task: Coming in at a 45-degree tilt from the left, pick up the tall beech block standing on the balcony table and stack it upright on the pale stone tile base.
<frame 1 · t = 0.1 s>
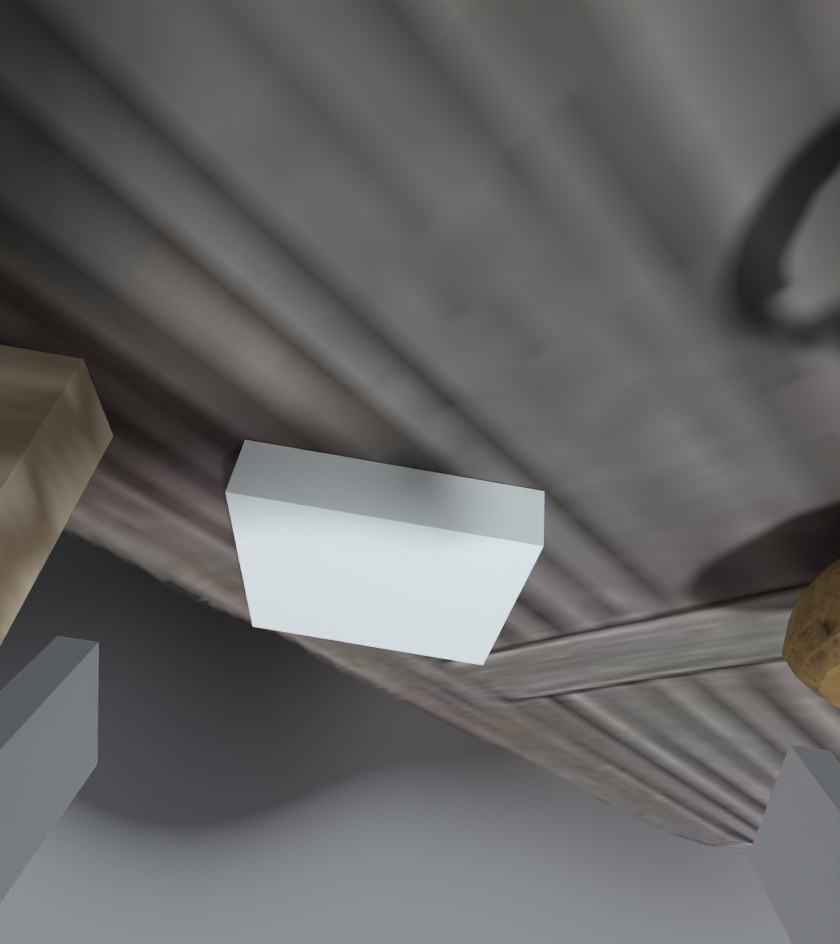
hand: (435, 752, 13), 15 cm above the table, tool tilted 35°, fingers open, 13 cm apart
beech block: (43, 390, 30), on the table
stone tile base: (384, 543, 36), on the table
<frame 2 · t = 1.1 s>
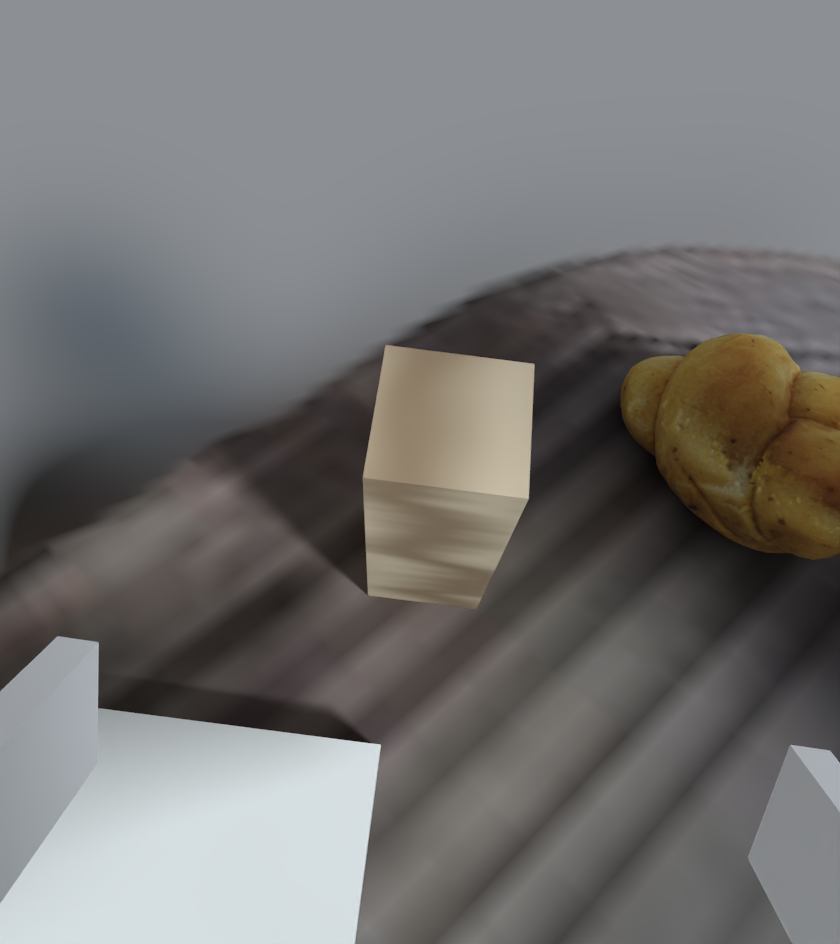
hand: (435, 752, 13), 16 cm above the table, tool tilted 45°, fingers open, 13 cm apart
beech block: (428, 551, 32), on the table
stone tile base: (163, 932, 24), on the table
bread roll: (721, 464, 35), on the table
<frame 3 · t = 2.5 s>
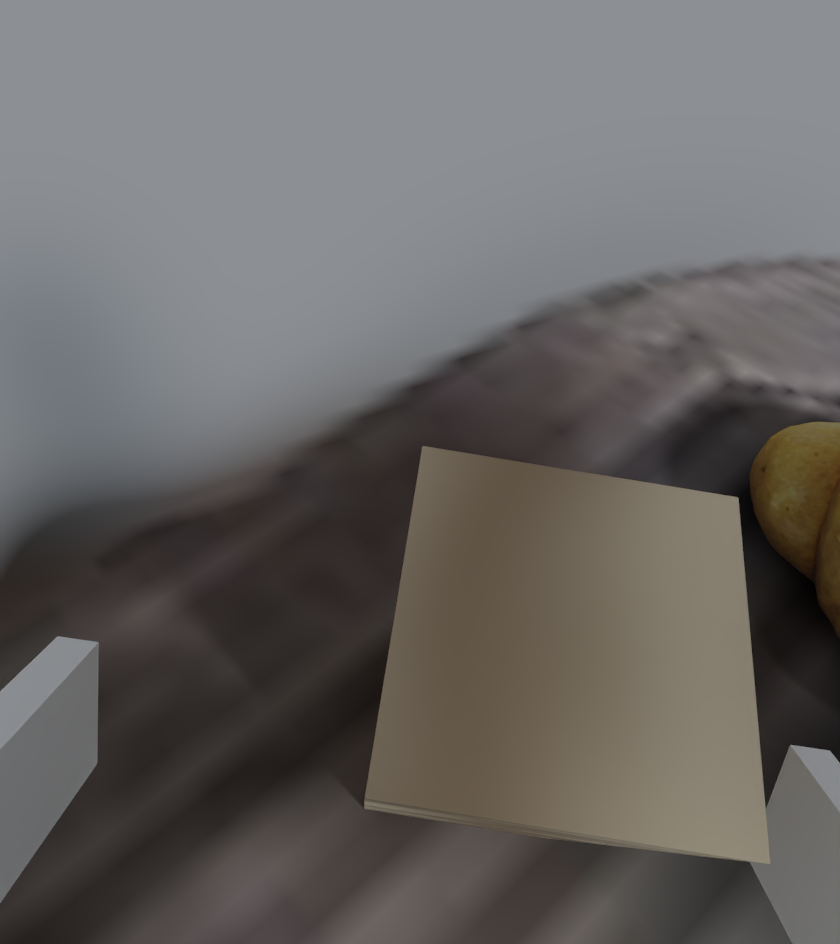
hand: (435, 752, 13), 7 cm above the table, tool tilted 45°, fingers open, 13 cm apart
beech block: (462, 729, 20), on the table
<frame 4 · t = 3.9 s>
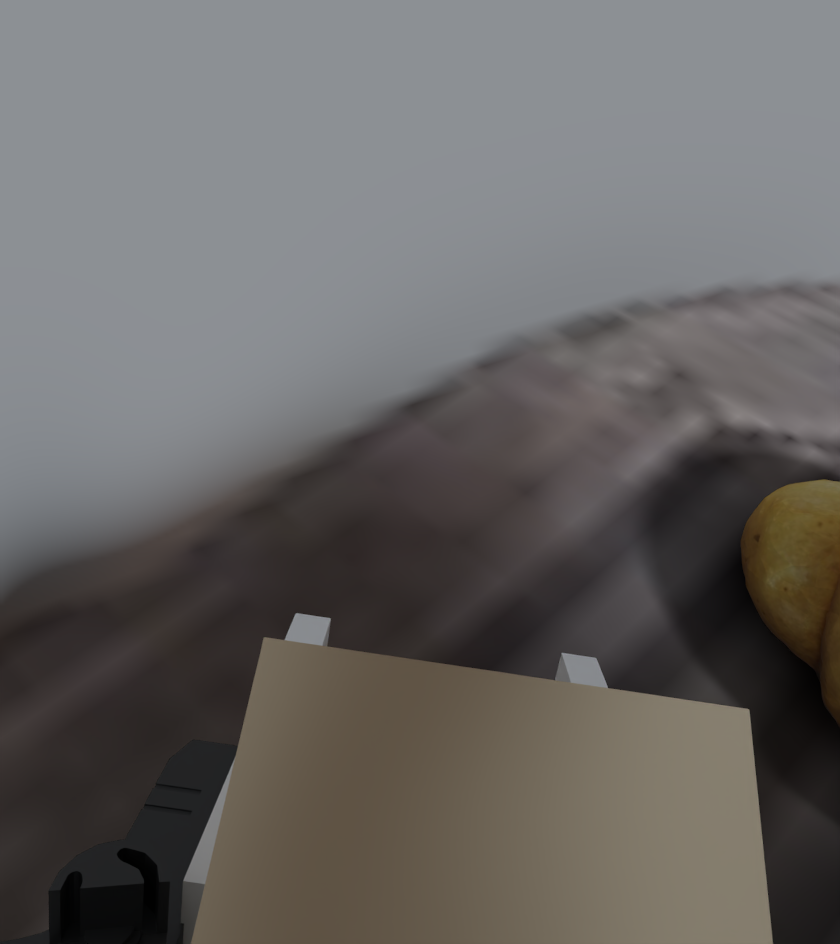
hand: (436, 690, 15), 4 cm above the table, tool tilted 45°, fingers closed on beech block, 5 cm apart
beech block: (402, 875, 16), on the table, touching gripper
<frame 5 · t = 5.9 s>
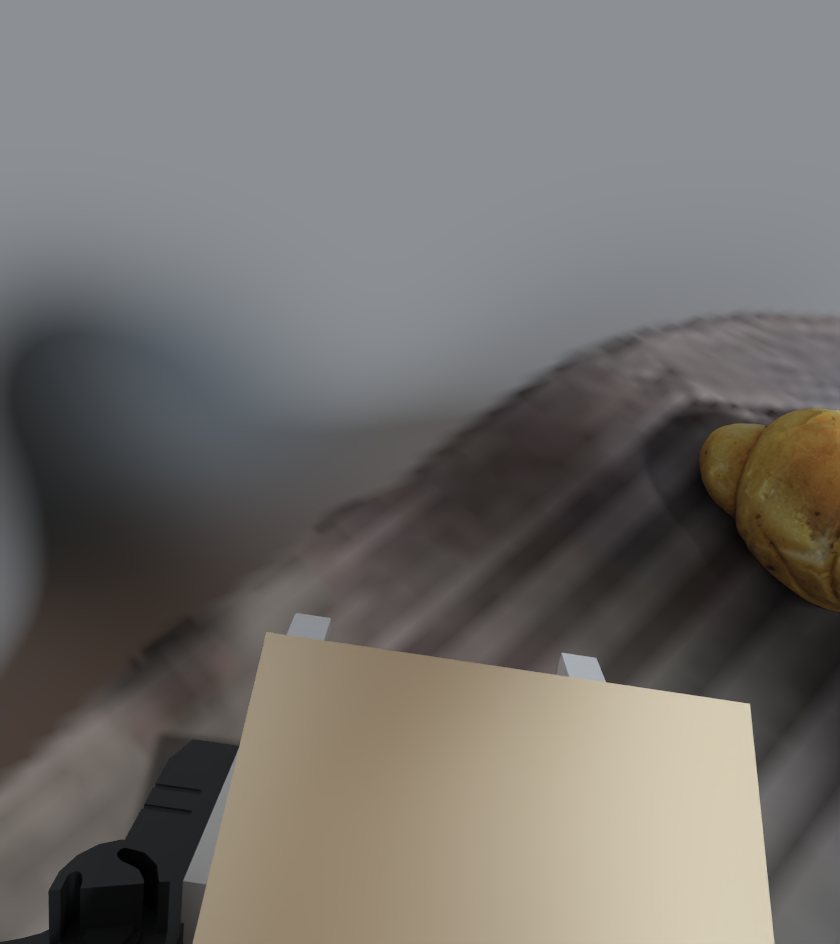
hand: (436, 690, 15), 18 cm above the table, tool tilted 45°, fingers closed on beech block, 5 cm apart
beech block: (403, 873, 16), point 14 cm above the table, touching gripper
bread roll: (790, 523, 38), on the table
when the fingers open (8 cm above the table, at t = 8.2 s): beech block drops 1 cm, resting on stone tile base.
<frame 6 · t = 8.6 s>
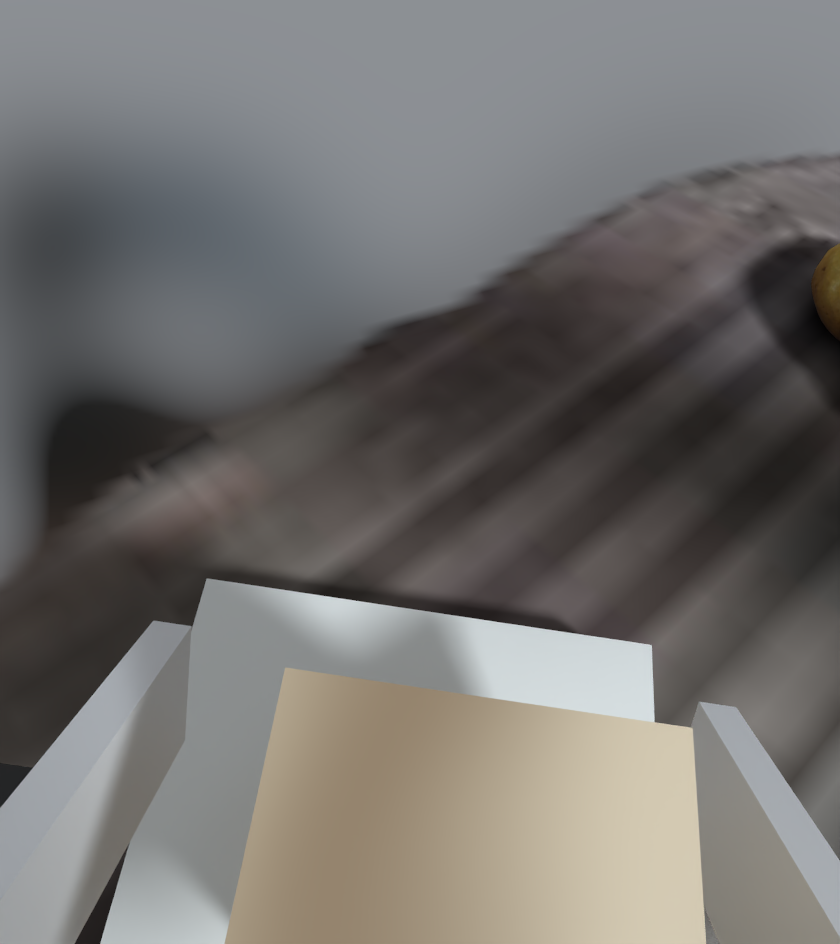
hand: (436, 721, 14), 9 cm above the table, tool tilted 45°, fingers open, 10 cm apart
beech block: (401, 872, 18), point 3 cm above the table, touching stone tile base
stone tile base: (392, 865, 20), on the table
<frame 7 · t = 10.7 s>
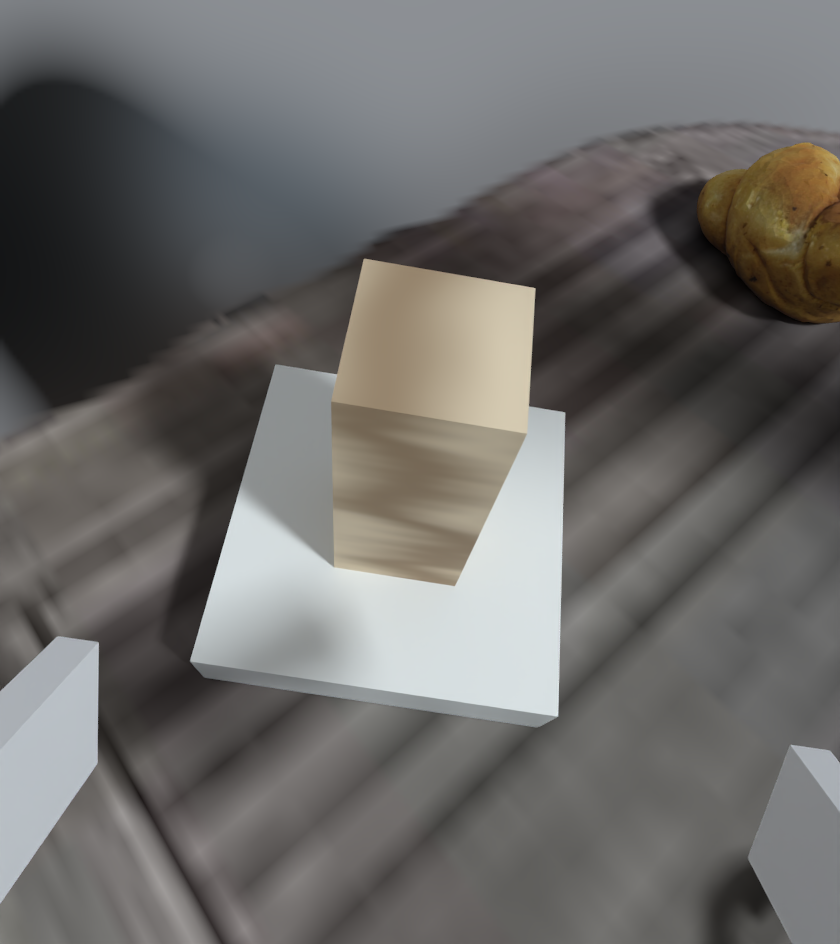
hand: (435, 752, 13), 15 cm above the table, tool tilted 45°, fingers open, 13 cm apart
beech block: (403, 521, 29), point 3 cm above the table, touching stone tile base
stone tile base: (396, 547, 31), on the table
bread roll: (773, 268, 43), on the table
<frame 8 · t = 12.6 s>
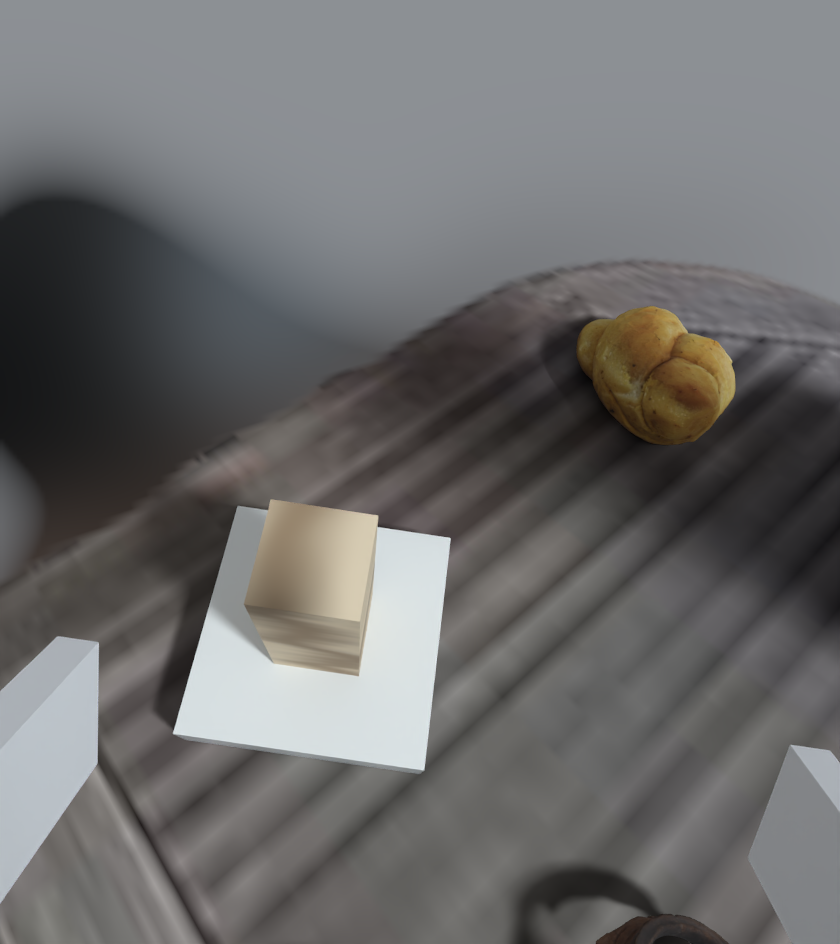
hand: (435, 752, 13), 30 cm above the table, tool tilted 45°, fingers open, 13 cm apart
beech block: (324, 627, 40), point 3 cm above the table, touching stone tile base
stone tile base: (325, 639, 43), on the table
bread roll: (638, 393, 55), on the table
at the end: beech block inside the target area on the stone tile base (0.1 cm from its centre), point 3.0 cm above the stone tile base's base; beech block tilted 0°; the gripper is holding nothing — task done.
